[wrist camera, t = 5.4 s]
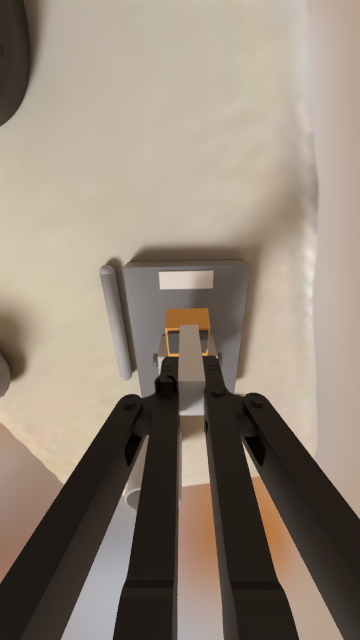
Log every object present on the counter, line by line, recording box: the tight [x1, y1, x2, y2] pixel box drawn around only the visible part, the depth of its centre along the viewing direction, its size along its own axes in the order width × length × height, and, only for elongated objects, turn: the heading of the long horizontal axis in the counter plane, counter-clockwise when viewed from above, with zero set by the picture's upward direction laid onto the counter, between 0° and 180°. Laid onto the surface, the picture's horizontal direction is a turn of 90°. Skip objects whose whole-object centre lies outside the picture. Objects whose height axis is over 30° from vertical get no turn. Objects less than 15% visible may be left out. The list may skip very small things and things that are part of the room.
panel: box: [122, 259, 251, 398], centre depth 27 cm, size 20×14×8 cm
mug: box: [125, 429, 182, 511], centre depth 35 cm, size 12×8×11 cm
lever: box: [165, 308, 211, 356], centre depth 24 cm, size 14×4×3 cm, turn 1°
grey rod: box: [100, 265, 132, 380], centre depth 29 cm, size 18×2×2 cm, turn 1°
